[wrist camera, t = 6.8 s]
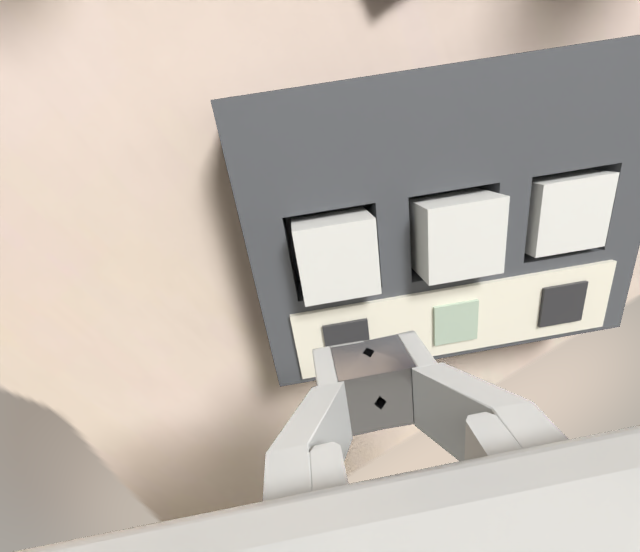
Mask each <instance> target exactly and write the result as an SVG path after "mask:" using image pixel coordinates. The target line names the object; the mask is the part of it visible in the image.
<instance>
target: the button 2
mask: <svg viewBox="0 0 640 552" xmlns="http://www.w3.org/2000/svg"><path fill="white" fill-rule="evenodd" d="M619 173H620V172H610V171H601V170H591V169H580V170H574V171H568V172H561V173H555V174H549V175H543V176H537V177H532V186H531V196H530V205H529V215H528V225H527V234H526V244H525V253H526V254H528V255H530V256H532V257H534V258H539V257H544V256H550V255H556V254H562V253H568V252H574V251H580V250H586V249H592V248H598V247H603V246H605V243H606V238H607V233H608V228H609V223H610V218H611V213H612V208H613V203H614V198H615V193H616V188H617V183H618V178H619Z"/></svg>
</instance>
